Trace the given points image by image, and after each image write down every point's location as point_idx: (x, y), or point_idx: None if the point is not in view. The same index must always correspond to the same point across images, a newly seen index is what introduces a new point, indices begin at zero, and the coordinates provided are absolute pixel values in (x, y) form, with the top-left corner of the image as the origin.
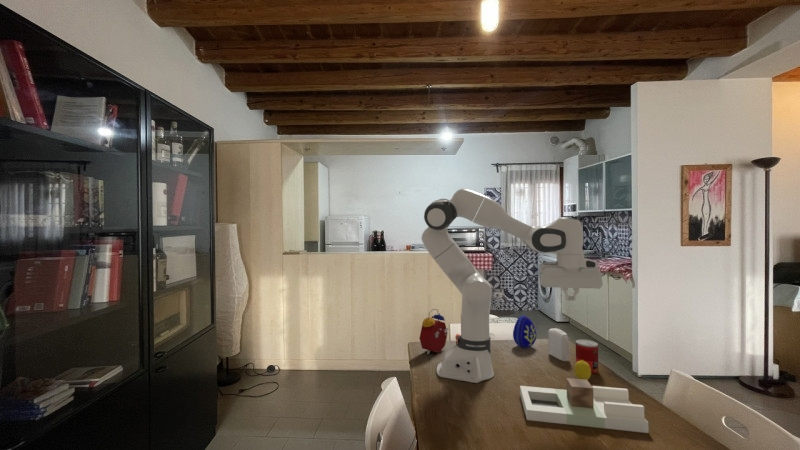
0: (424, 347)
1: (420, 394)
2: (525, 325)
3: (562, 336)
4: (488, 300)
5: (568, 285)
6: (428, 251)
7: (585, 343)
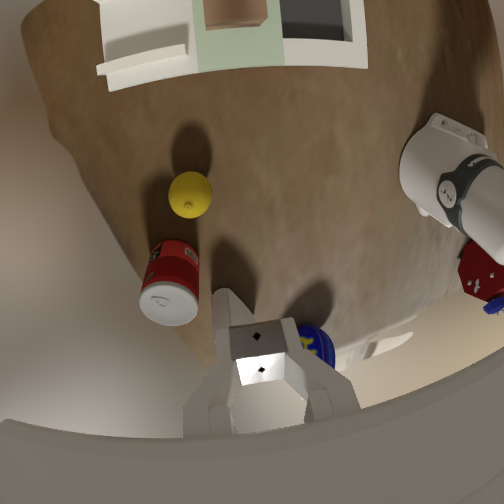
0: None
1: (499, 67)
2: None
3: None
4: None
5: (325, 445)
6: None
7: (171, 303)
